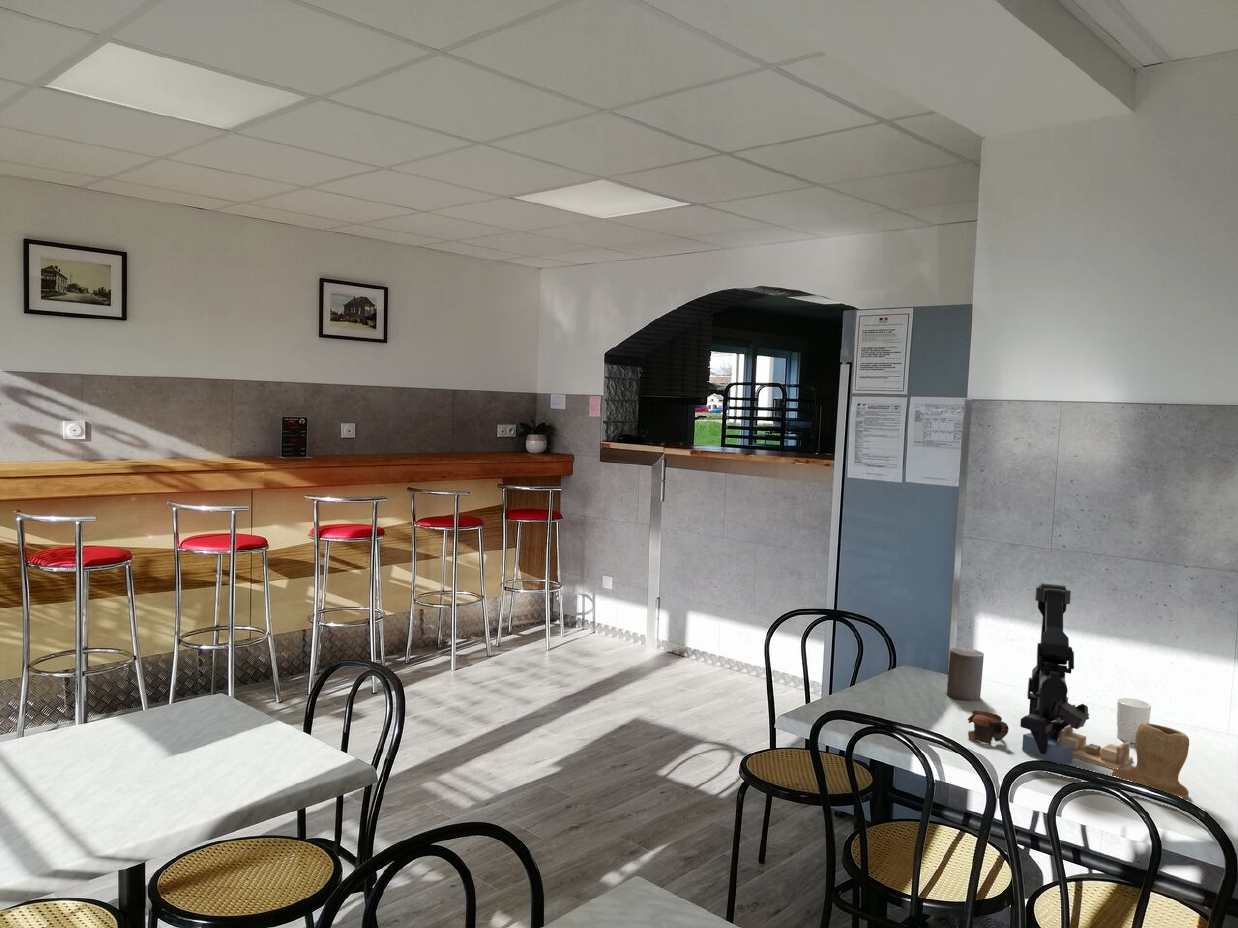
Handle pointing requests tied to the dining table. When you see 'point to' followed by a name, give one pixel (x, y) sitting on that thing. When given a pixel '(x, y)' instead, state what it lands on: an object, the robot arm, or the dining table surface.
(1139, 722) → the white cup
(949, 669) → the pillar candle
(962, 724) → the dining table surface
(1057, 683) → the robot arm
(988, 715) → the pottery mug
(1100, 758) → the display cradle
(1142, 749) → the stone cup
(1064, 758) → the tall slate-blue box
